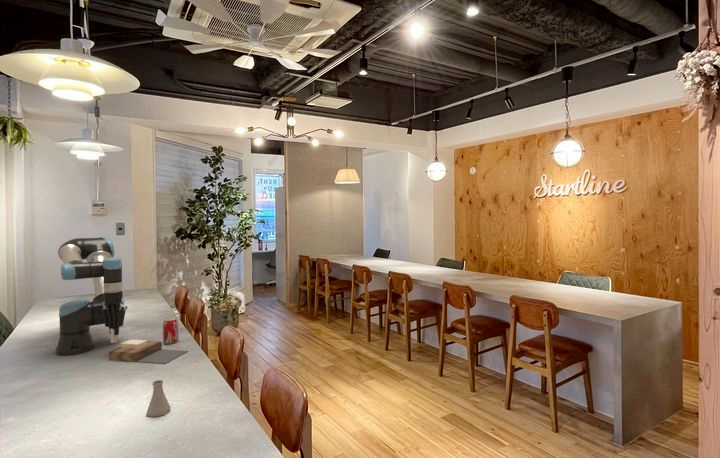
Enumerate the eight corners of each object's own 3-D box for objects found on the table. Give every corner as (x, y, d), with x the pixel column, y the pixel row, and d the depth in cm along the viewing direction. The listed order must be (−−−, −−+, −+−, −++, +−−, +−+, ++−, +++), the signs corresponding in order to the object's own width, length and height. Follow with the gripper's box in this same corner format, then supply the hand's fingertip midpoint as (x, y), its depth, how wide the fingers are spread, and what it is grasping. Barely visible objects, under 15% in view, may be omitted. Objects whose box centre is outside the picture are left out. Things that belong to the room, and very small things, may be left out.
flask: (151, 407, 133) (151, 377, 133) (174, 406, 134) (173, 376, 134) (141, 418, 126) (141, 387, 126) (165, 417, 127) (164, 386, 126)
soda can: (172, 345, 198) (172, 321, 197) (159, 344, 199) (159, 320, 199) (181, 340, 205) (181, 317, 204) (169, 340, 206) (168, 316, 206)
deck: (109, 360, 177) (108, 351, 177) (135, 348, 193) (135, 340, 193) (136, 362, 175) (136, 353, 175) (161, 350, 190) (161, 341, 190)
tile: (120, 347, 182) (120, 343, 182) (130, 343, 188) (130, 339, 188) (137, 348, 180) (137, 344, 180) (147, 344, 186) (147, 340, 186)
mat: (136, 362, 175) (136, 361, 175) (161, 350, 190) (161, 349, 190) (165, 364, 172) (165, 363, 172) (187, 351, 188) (187, 350, 188)
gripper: (94, 292, 183) (95, 343, 183) (118, 293, 180) (120, 345, 181) (107, 289, 190) (108, 338, 191) (131, 290, 188) (132, 340, 188)
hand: (114, 341), depth 186 cm, fingers closed
